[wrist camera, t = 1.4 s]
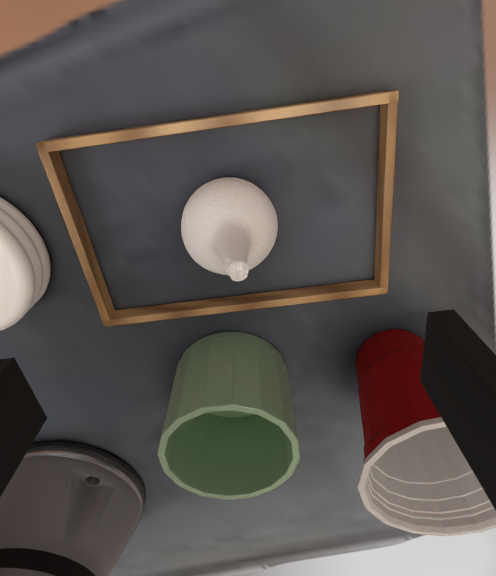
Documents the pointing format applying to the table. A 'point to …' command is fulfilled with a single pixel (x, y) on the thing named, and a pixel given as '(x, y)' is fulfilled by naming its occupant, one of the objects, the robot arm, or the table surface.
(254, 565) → the table surface
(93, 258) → the frame
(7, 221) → the coaster
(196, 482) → the cup
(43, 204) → the table surface
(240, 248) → the garlic bulb
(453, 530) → the plastic cup
